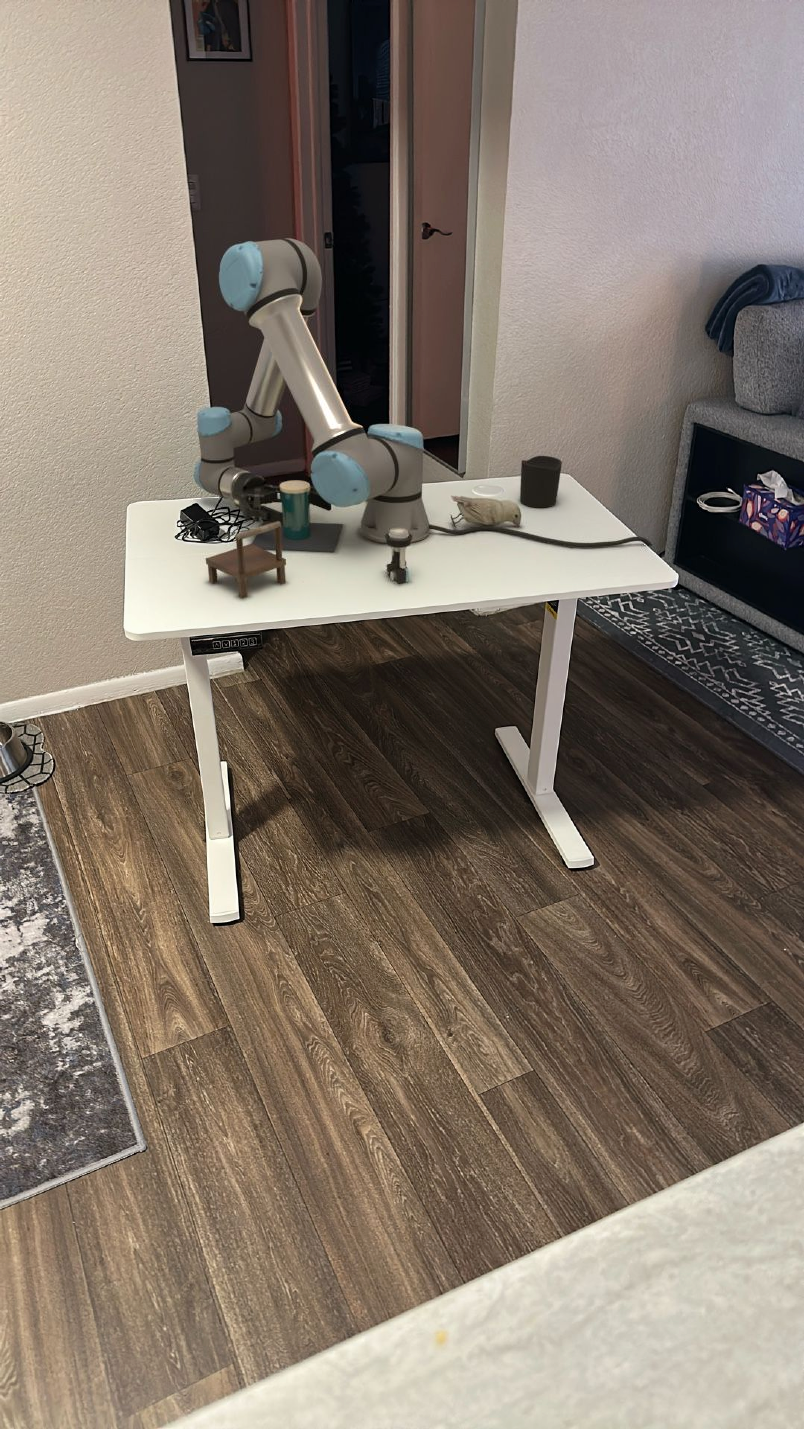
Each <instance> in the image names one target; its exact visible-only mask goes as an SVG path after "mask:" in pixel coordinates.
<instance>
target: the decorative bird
mask: <svg viewBox="0 0 804 1429" xmlns="http://www.w3.org/2000/svg"><path fill="white" fill-rule="evenodd" d="M450 497H451V499H452V501H454V502H456V506H457V508H458V511H459V513H458V514H457V515H456V516H455V517H453V516H452V514H451V513H449V515H450V519H451V523H452V525H453V527H454V528H455V529H454V530H457V527H456V524H459V523H461V521H462V520H465V522H466V523H468V524H472V525H475V526H499V525H502V524H503V523H506V522H509V523H512V524H514V525H515V526H516V527H520V525H521V522H522V512H521V509H520V507H519V505H518V504H517V503H516V502H514V501H512V500H507V499H506V500H503V499H502V500H499V499H494V498H488V497H487V498H486V497H468V496H463V495H460V496H459V495H450ZM460 516H461V517H460ZM459 517H460V518H459ZM458 518H459V520H458V521H454V520H456V519H458Z"/></svg>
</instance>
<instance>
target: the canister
mask: <svg viewBox="0 0 804 1429" xmlns="http://www.w3.org/2000/svg"><path fill="white" fill-rule="evenodd" d="M282 482H283V483H281V484H280V490H281V502H282V503H281V512H282V513H283V536H284V537H285V538H286V539H290V540H303V539H307V538H309V537H310V536H311V524H310V523H311V504H310V499H309V490H310V486H311V485H310V483H309V482H307V481H305V480H297V479H296V480H294V479H293V480H287V481H282Z"/></svg>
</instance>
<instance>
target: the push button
mask: <svg viewBox="0 0 804 1429" xmlns="http://www.w3.org/2000/svg"><path fill="white" fill-rule="evenodd" d="M412 537H413V536H412V534H410V533H408V530H407V529H404V528H393V529H391V530H390V532H389V533H387V534H386V535H385V539H386V543H385V544H386V545H387V546H388V547H390V548H391V559H390V560H391V561H390V563H387V564H386V565H385V567H386V569H385V571H386V572H387V574H388V577H389V578H390V580H392V581H395V582H396V583H397V584H398V585H401V584H404V583H408V582H409V569H408V567H407V561H406V549H407V548H408V547H410V546H411V544H412V543H411V540H412Z"/></svg>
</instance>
